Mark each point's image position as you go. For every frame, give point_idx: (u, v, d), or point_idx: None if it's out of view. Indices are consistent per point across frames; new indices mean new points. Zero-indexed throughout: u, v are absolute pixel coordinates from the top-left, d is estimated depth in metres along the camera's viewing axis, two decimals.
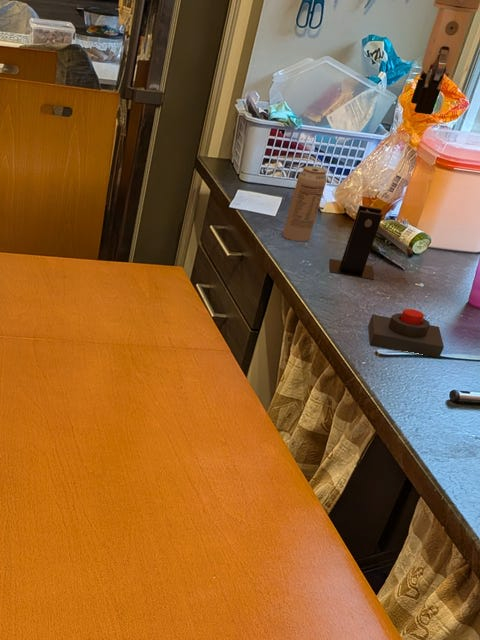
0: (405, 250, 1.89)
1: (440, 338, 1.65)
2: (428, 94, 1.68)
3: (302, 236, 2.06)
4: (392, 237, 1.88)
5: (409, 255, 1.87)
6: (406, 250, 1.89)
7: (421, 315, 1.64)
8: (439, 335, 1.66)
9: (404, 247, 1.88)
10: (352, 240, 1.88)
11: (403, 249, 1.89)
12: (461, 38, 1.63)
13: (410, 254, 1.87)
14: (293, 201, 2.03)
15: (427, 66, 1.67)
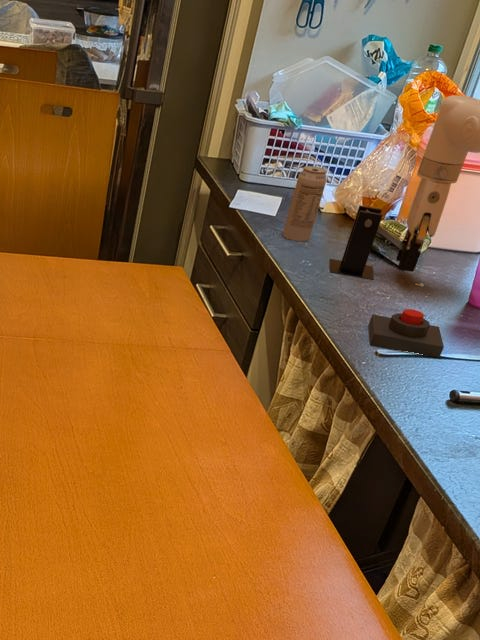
0: None
1: (440, 338, 1.65)
2: (410, 255, 1.86)
3: (302, 236, 2.06)
4: (392, 237, 1.88)
5: None
6: None
7: (421, 315, 1.64)
8: (439, 335, 1.66)
9: (404, 247, 1.88)
10: (352, 240, 1.88)
11: (403, 249, 1.89)
12: (442, 206, 1.79)
13: None
14: (293, 201, 2.03)
15: (411, 228, 1.82)
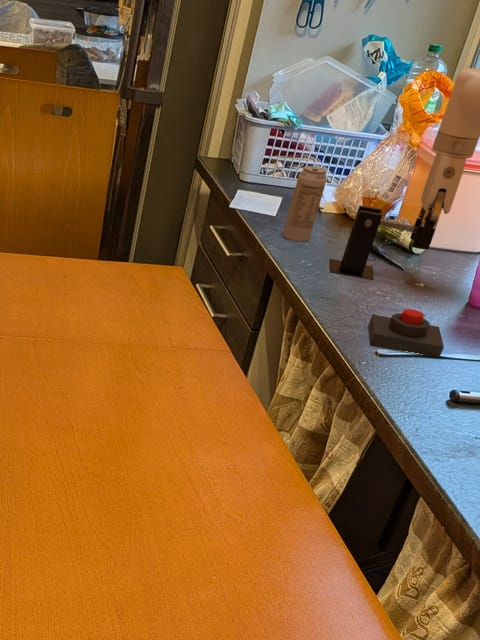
0: None
1: (440, 338, 1.65)
2: (424, 232, 1.83)
3: (302, 236, 2.06)
4: (399, 225, 1.86)
5: None
6: None
7: (421, 315, 1.64)
8: (439, 335, 1.66)
9: (415, 229, 1.86)
10: (352, 240, 1.88)
11: (415, 231, 1.86)
12: (457, 181, 1.76)
13: None
14: (293, 201, 2.03)
15: (426, 205, 1.79)
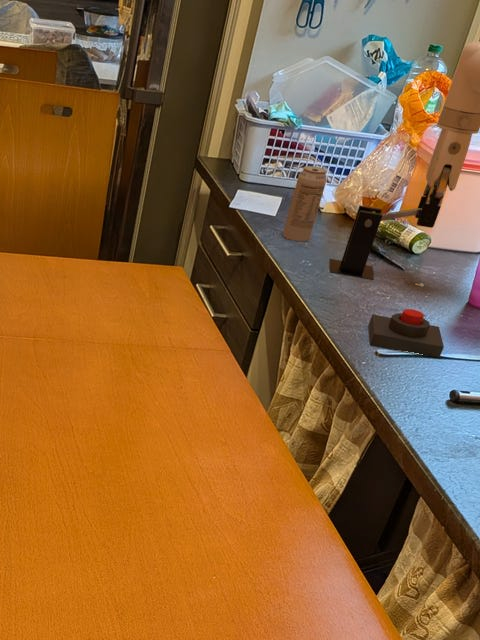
0: None
1: (440, 338, 1.65)
2: (429, 210, 1.80)
3: (302, 236, 2.06)
4: (401, 213, 1.85)
5: None
6: None
7: (421, 315, 1.64)
8: (439, 335, 1.66)
9: (418, 211, 1.84)
10: (352, 240, 1.88)
11: (419, 213, 1.84)
12: (463, 157, 1.73)
13: None
14: (293, 201, 2.03)
15: (431, 181, 1.77)
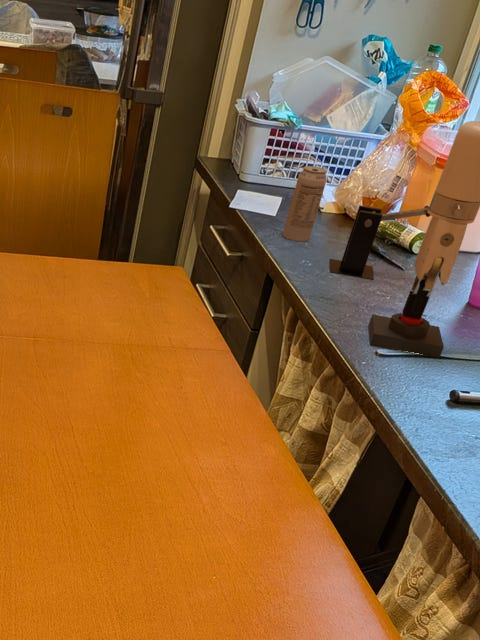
0: (422, 213, 1.84)
1: (440, 338, 1.65)
2: (417, 301, 1.62)
3: (302, 236, 2.06)
4: (401, 214, 1.85)
5: (427, 214, 1.82)
6: (423, 212, 1.84)
7: (419, 319, 1.64)
8: (439, 335, 1.66)
9: (418, 212, 1.84)
10: (352, 240, 1.88)
11: (419, 214, 1.84)
12: (457, 250, 1.53)
13: (427, 213, 1.82)
14: (293, 201, 2.03)
15: (420, 274, 1.56)
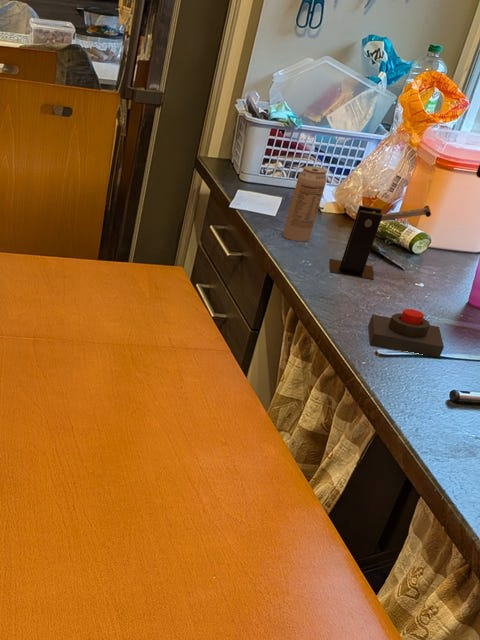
0: (422, 213, 1.84)
1: (440, 338, 1.65)
2: None
3: (302, 236, 2.06)
4: (401, 214, 1.85)
5: (427, 214, 1.82)
6: (423, 212, 1.84)
7: (421, 315, 1.64)
8: (439, 335, 1.66)
9: (418, 212, 1.84)
10: (352, 240, 1.88)
11: (419, 214, 1.84)
12: None
13: (427, 213, 1.82)
14: (293, 201, 2.03)
15: None
